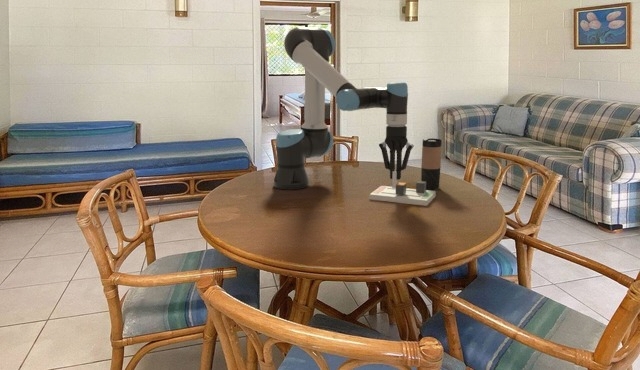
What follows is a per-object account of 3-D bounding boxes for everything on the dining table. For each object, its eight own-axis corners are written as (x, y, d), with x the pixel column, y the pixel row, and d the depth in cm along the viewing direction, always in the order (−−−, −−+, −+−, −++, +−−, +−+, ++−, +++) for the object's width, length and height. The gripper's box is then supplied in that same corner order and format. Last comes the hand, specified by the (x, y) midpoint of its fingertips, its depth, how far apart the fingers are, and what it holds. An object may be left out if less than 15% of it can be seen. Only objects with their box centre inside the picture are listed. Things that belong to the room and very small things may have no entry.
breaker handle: (395, 194, 183) (395, 184, 182) (398, 192, 186) (398, 182, 185) (403, 195, 182) (403, 185, 181) (405, 192, 185) (406, 182, 184)
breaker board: (369, 199, 186) (369, 184, 185) (381, 190, 198) (381, 176, 197) (426, 205, 177) (427, 190, 175) (435, 196, 189) (436, 181, 187)
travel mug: (439, 190, 197) (442, 141, 192) (420, 189, 198) (422, 141, 194) (439, 185, 204) (441, 138, 199) (420, 185, 206) (422, 138, 201)
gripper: (376, 125, 178) (375, 188, 184) (411, 127, 173) (409, 191, 178) (382, 123, 185) (382, 183, 190) (416, 124, 179) (414, 186, 185)
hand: (395, 187), depth 184 cm, fingers closed
